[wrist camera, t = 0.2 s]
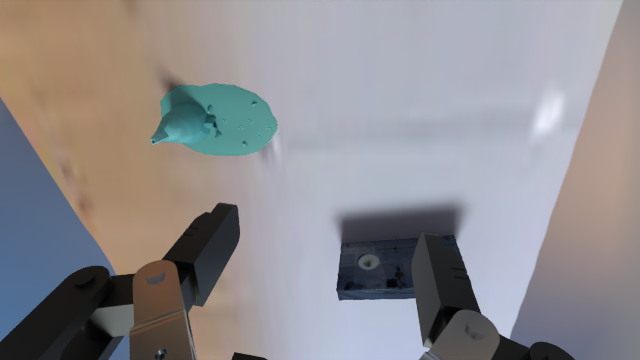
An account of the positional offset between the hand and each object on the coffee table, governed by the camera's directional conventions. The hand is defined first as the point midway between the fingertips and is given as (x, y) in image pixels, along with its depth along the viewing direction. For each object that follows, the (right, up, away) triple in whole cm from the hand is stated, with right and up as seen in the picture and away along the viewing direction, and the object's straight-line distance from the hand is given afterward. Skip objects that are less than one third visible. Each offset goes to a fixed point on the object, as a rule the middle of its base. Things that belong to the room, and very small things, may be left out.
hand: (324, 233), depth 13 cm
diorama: (-15, +11, +31) cm, 36 cm away
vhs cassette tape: (+13, -8, +37) cm, 40 cm away
